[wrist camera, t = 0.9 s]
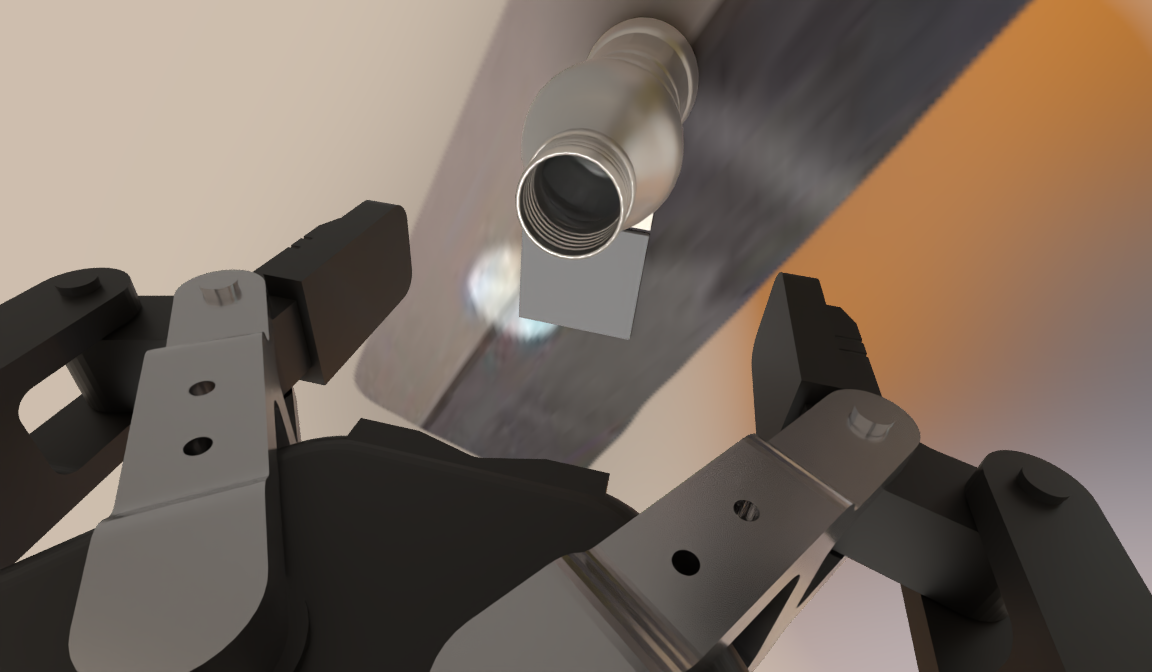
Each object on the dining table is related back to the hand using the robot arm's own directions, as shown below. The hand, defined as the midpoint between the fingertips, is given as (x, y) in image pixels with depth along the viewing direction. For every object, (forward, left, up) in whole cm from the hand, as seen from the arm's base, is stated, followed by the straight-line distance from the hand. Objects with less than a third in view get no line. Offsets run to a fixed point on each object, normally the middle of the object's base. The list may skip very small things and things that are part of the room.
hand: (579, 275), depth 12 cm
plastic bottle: (+1, -1, -26) cm, 26 cm away
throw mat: (+14, -4, -26) cm, 30 cm away
